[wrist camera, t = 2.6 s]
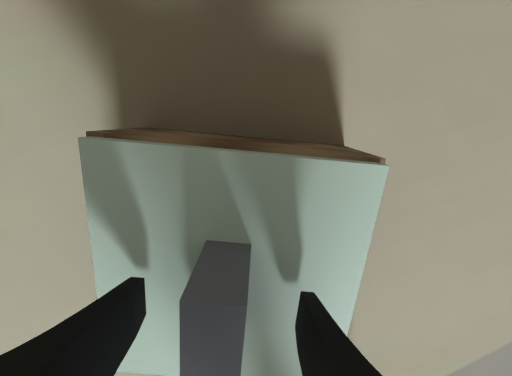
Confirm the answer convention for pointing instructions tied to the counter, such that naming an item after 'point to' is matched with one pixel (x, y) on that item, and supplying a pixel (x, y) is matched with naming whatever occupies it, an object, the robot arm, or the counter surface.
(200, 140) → the box
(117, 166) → the lid
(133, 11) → the counter surface
